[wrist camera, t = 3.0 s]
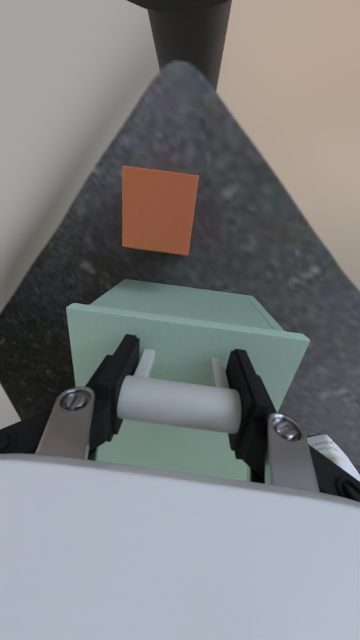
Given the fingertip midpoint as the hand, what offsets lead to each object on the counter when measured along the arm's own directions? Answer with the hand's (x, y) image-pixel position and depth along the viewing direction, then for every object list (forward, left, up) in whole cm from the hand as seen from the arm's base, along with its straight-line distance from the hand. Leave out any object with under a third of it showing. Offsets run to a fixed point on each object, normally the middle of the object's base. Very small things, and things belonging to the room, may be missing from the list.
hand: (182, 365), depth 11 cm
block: (-8, -3, -11) cm, 14 cm away
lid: (+6, 0, -1) cm, 6 cm away
